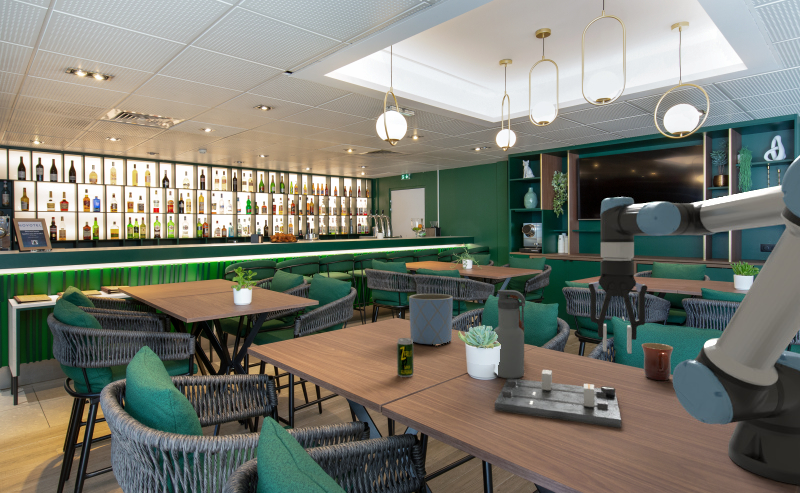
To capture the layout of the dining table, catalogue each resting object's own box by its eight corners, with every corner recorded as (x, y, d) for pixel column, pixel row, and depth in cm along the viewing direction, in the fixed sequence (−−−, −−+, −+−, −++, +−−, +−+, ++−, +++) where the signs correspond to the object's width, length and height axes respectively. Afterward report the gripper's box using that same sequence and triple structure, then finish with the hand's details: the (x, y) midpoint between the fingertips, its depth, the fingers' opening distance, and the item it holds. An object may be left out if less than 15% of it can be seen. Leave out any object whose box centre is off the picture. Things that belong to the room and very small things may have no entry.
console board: (621, 427, 106) (621, 411, 106) (494, 410, 117) (494, 395, 117) (614, 396, 126) (614, 383, 126) (507, 384, 138) (507, 372, 138)
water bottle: (525, 371, 151) (525, 289, 150) (525, 380, 141) (525, 292, 141) (494, 369, 153) (494, 288, 153) (492, 378, 144) (492, 292, 143)
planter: (460, 340, 198) (459, 295, 197) (440, 349, 181) (440, 300, 181) (422, 335, 208) (422, 292, 207) (401, 343, 192) (400, 297, 191)
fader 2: (594, 407, 113) (594, 389, 113) (583, 405, 114) (583, 387, 114) (593, 401, 116) (593, 384, 116) (583, 400, 117) (583, 383, 117)
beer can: (395, 373, 149) (395, 338, 149) (410, 372, 151) (410, 337, 151) (400, 378, 144) (399, 342, 144) (415, 377, 146) (415, 340, 145)
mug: (637, 373, 148) (638, 342, 148) (666, 374, 146) (666, 343, 146) (650, 384, 136) (650, 351, 136) (682, 386, 134) (682, 352, 134)
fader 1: (551, 390, 125) (551, 374, 125) (541, 389, 126) (541, 373, 126) (551, 385, 129) (551, 370, 129) (542, 384, 130) (542, 369, 130)
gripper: (655, 258, 112) (655, 350, 112) (578, 258, 119) (578, 344, 119) (660, 260, 105) (659, 358, 105) (578, 259, 112) (578, 351, 112)
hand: (616, 350), depth 112 cm, fingers open, 5 cm apart
